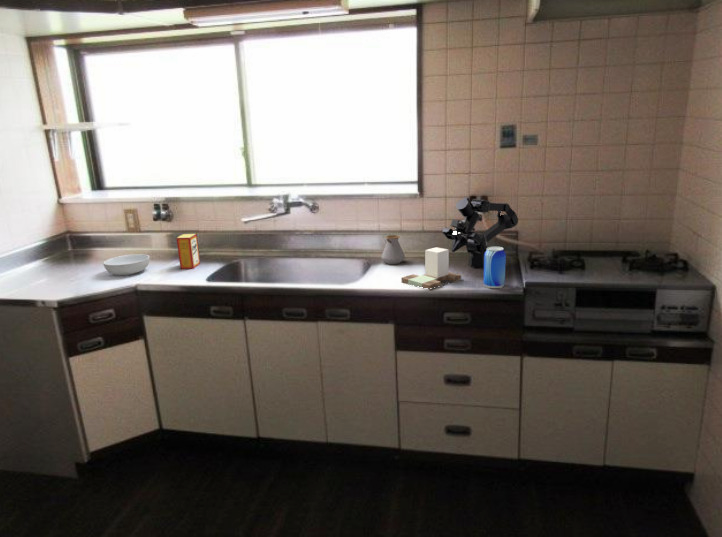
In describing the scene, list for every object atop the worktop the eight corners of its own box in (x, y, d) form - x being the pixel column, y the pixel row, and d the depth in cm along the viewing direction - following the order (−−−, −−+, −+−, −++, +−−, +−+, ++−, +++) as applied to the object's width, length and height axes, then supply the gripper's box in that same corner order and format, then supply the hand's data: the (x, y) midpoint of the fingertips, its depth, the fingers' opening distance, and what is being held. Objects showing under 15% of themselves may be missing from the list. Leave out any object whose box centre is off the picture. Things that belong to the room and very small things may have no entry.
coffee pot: (383, 259, 266) (382, 229, 262) (406, 259, 264) (406, 229, 260) (375, 270, 246) (375, 239, 242) (400, 271, 244) (400, 239, 240)
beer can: (492, 282, 223) (493, 244, 218) (508, 286, 216) (510, 248, 212) (479, 286, 218) (480, 248, 213) (495, 290, 211) (497, 251, 207)
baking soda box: (187, 264, 271) (183, 233, 267) (200, 263, 271) (196, 233, 267) (180, 269, 262) (176, 237, 258) (193, 268, 262) (189, 237, 258)
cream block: (436, 271, 234) (436, 247, 231) (448, 274, 229) (448, 249, 226) (425, 274, 230) (425, 250, 227) (437, 277, 224) (437, 252, 221)
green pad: (422, 279, 230) (422, 275, 229) (436, 283, 224) (436, 278, 223) (408, 284, 224) (408, 279, 224) (422, 288, 218) (422, 283, 218)
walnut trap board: (433, 272, 240) (433, 268, 239) (461, 279, 228) (461, 275, 227) (401, 282, 227) (401, 277, 227) (429, 290, 215) (429, 285, 215)
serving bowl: (127, 266, 272) (125, 252, 271) (160, 268, 266) (158, 254, 264) (95, 277, 254) (92, 263, 252) (130, 280, 247) (128, 265, 245)
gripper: (444, 209, 239) (427, 238, 235) (478, 214, 225) (461, 244, 221) (455, 224, 246) (439, 252, 242) (489, 229, 232) (472, 259, 228)
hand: (452, 251), depth 233 cm, fingers closed
